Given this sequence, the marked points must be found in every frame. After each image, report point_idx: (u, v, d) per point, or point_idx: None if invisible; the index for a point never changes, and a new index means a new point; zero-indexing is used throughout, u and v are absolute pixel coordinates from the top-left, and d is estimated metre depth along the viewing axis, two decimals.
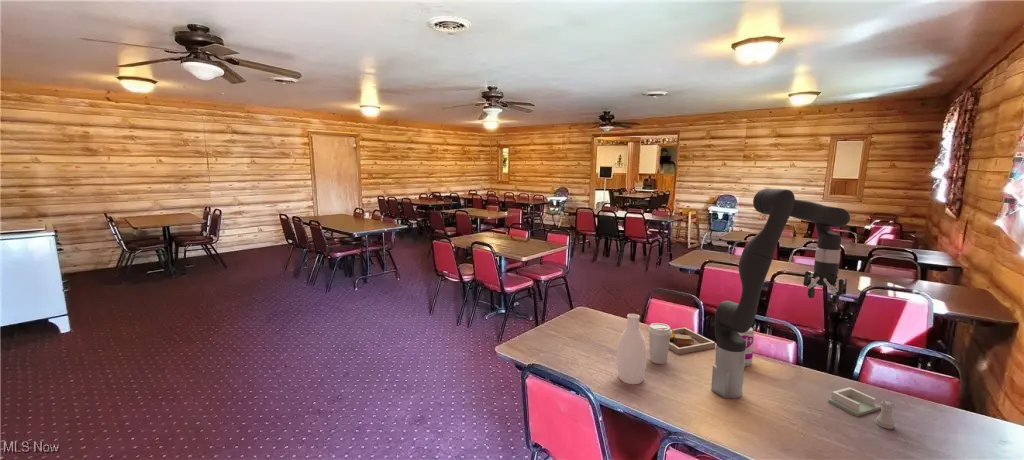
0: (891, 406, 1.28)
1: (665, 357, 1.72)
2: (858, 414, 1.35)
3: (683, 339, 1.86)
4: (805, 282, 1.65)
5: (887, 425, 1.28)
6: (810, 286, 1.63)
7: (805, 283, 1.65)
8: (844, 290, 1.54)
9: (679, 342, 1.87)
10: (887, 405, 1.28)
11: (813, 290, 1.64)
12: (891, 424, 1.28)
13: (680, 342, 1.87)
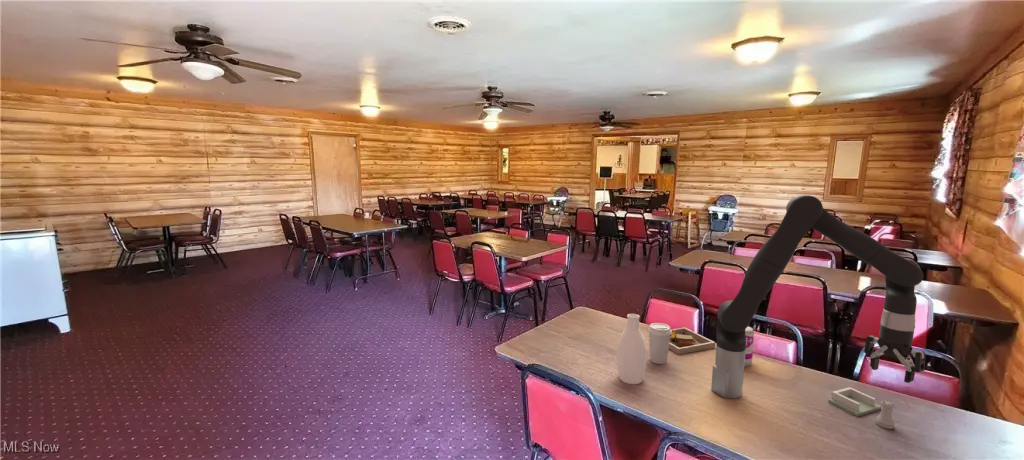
0: (891, 406, 1.28)
1: (665, 357, 1.72)
2: (858, 414, 1.35)
3: (685, 339, 1.86)
4: (866, 349, 1.33)
5: (887, 425, 1.28)
6: (874, 355, 1.31)
7: (867, 351, 1.33)
8: (922, 366, 1.22)
9: (681, 342, 1.87)
10: (887, 405, 1.28)
11: (877, 360, 1.32)
12: (891, 424, 1.28)
13: (682, 342, 1.87)
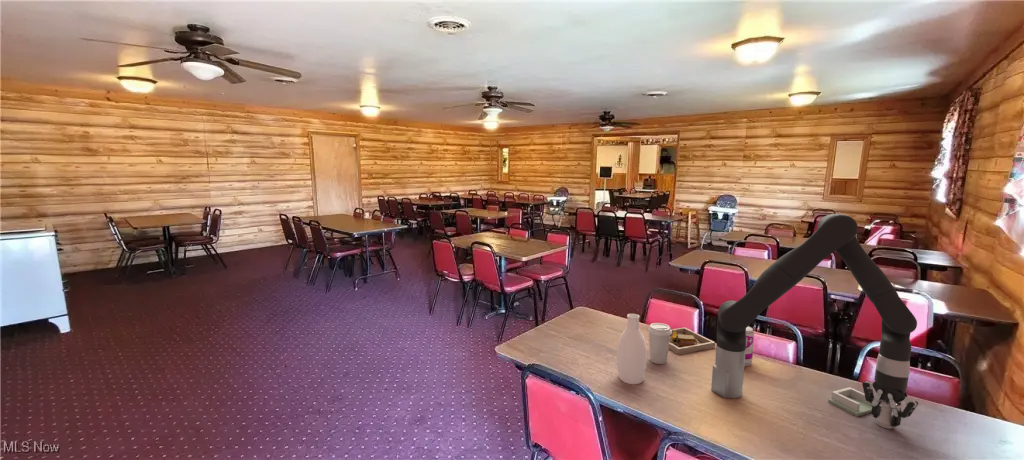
0: None
1: (665, 357, 1.72)
2: (858, 414, 1.35)
3: (687, 339, 1.86)
4: (867, 397, 1.33)
5: (887, 425, 1.28)
6: (875, 403, 1.31)
7: (868, 398, 1.33)
8: (909, 412, 1.25)
9: (683, 342, 1.87)
10: (887, 405, 1.28)
11: (879, 408, 1.32)
12: None
13: (684, 342, 1.86)
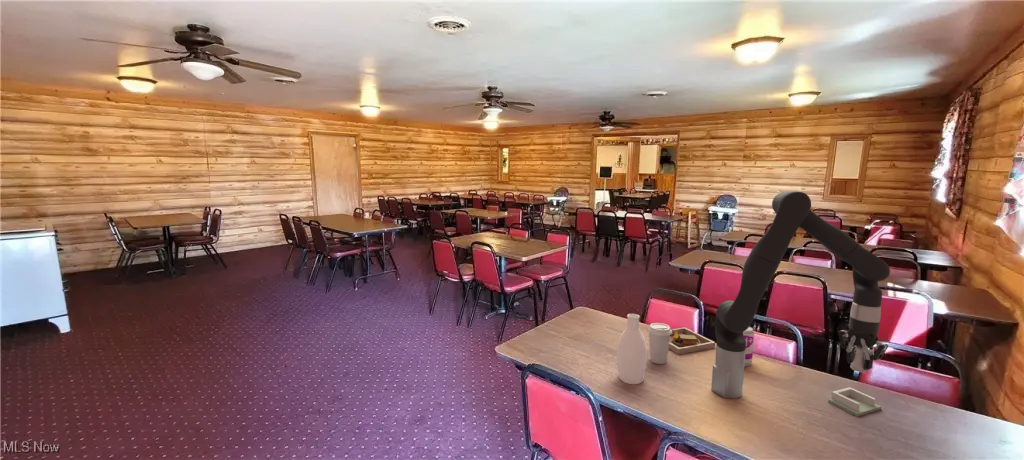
0: None
1: (665, 357, 1.72)
2: (858, 414, 1.35)
3: (689, 339, 1.86)
4: (842, 344, 1.42)
5: (860, 369, 1.37)
6: (849, 349, 1.40)
7: (843, 345, 1.42)
8: (880, 355, 1.34)
9: (685, 342, 1.86)
10: (860, 350, 1.37)
11: (853, 354, 1.41)
12: None
13: (686, 342, 1.86)
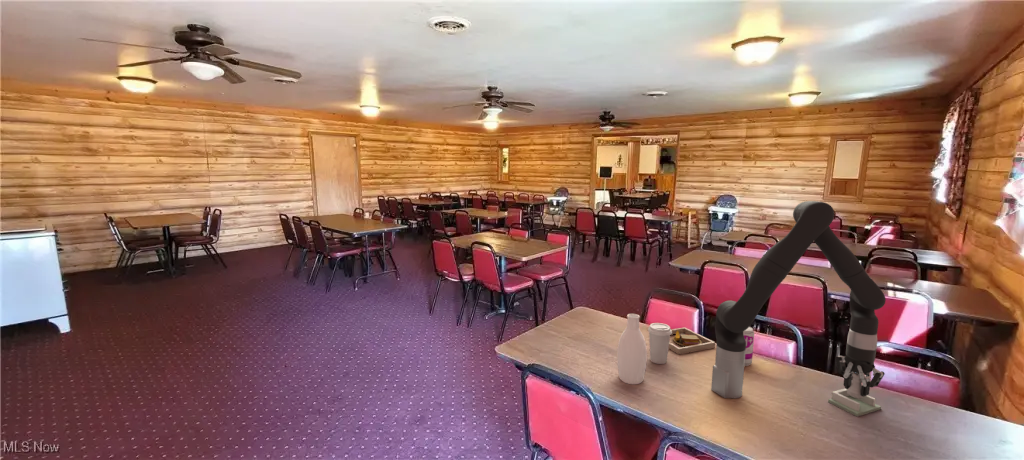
0: None
1: (665, 357, 1.72)
2: (858, 414, 1.35)
3: (691, 339, 1.86)
4: (839, 369, 1.44)
5: (857, 395, 1.39)
6: (846, 375, 1.42)
7: (840, 371, 1.43)
8: (877, 382, 1.35)
9: (687, 342, 1.86)
10: (857, 377, 1.39)
11: (850, 380, 1.42)
12: None
13: (688, 342, 1.86)
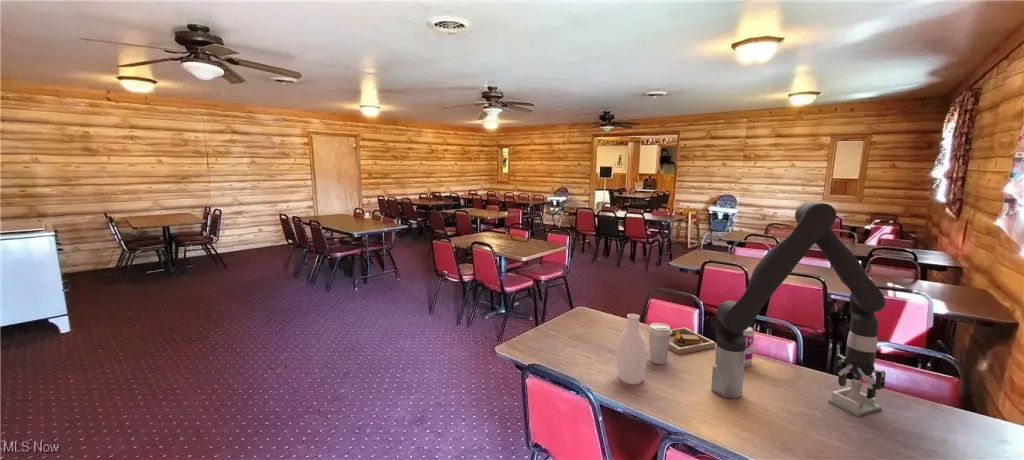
0: (859, 384, 1.39)
1: (665, 357, 1.72)
2: (858, 414, 1.35)
3: (692, 339, 1.86)
4: (835, 367, 1.45)
5: None
6: (841, 373, 1.43)
7: (835, 368, 1.45)
8: (882, 384, 1.34)
9: (688, 343, 1.86)
10: (856, 384, 1.39)
11: (845, 377, 1.44)
12: (859, 401, 1.39)
13: (689, 343, 1.86)
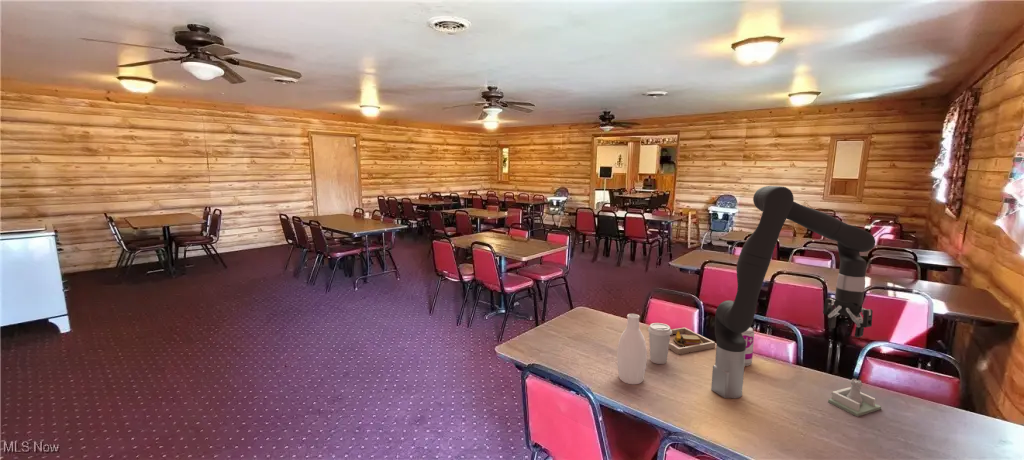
0: (859, 384, 1.39)
1: (665, 357, 1.72)
2: (858, 414, 1.35)
3: (692, 340, 1.86)
4: (825, 310, 1.50)
5: None
6: (831, 315, 1.48)
7: (825, 311, 1.50)
8: (869, 322, 1.38)
9: (688, 343, 1.86)
10: (855, 384, 1.39)
11: (834, 319, 1.48)
12: (859, 401, 1.39)
13: (689, 343, 1.86)
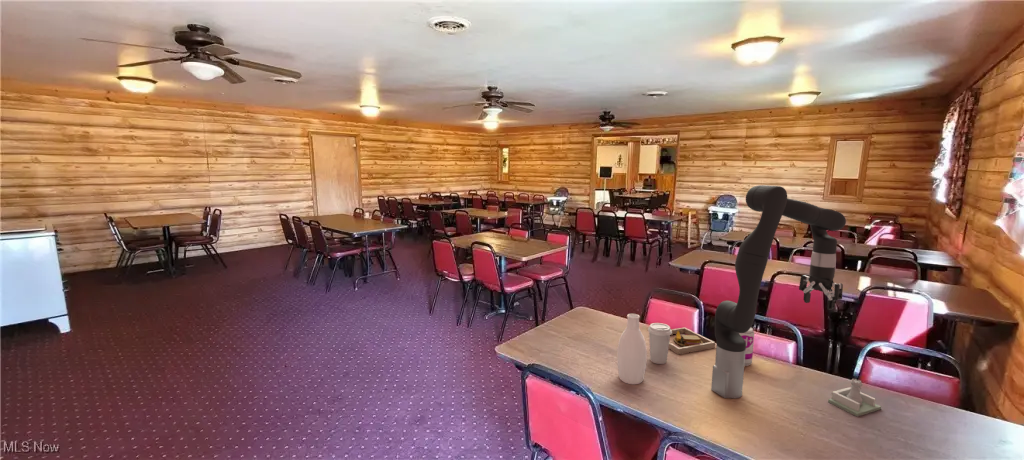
0: (859, 384, 1.39)
1: (665, 357, 1.72)
2: (858, 414, 1.35)
3: (693, 340, 1.86)
4: (800, 286, 1.62)
5: None
6: (806, 291, 1.60)
7: (801, 287, 1.62)
8: (840, 295, 1.51)
9: (689, 343, 1.86)
10: (855, 384, 1.39)
11: (809, 295, 1.61)
12: (859, 401, 1.39)
13: (690, 343, 1.86)
